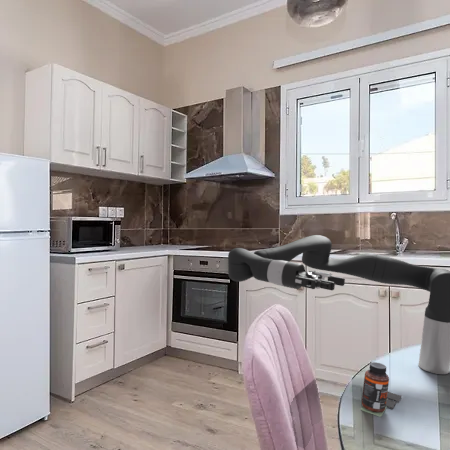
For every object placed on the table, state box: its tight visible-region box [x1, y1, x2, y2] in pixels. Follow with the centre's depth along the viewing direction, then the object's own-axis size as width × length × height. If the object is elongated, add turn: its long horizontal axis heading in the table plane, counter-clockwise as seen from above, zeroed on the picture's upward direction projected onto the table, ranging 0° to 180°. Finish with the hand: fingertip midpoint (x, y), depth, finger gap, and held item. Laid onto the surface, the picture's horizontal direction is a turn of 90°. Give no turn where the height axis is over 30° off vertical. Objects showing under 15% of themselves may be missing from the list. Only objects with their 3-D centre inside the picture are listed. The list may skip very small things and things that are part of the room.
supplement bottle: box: [361, 361, 390, 412], centre depth 107 cm, size 6×6×11 cm
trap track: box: [360, 391, 402, 418], centre depth 110 cm, size 16×7×1 cm, turn 146°
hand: (339, 284), depth 114 cm, fingers open, 8 cm apart
